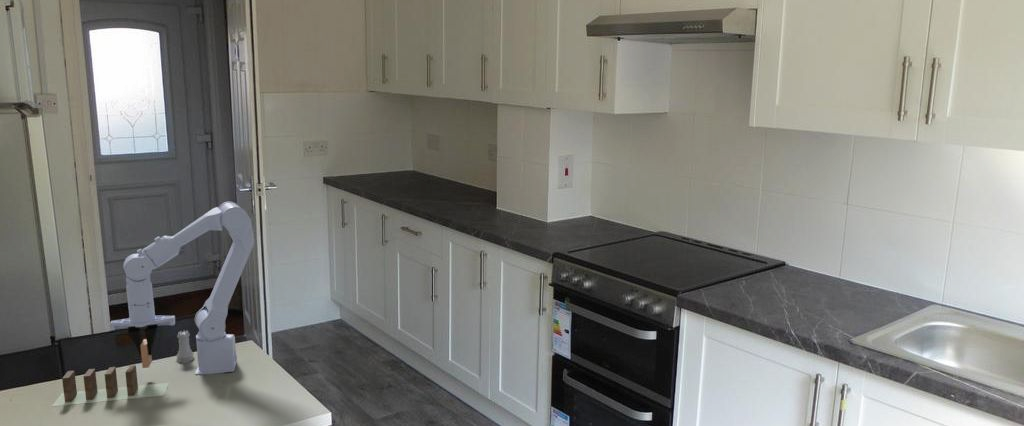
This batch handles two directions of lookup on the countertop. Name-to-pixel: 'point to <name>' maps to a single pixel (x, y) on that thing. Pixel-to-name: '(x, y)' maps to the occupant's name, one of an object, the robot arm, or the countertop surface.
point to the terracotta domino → (145, 355)
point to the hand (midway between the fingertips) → (146, 354)
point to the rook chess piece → (184, 347)
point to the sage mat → (120, 395)
